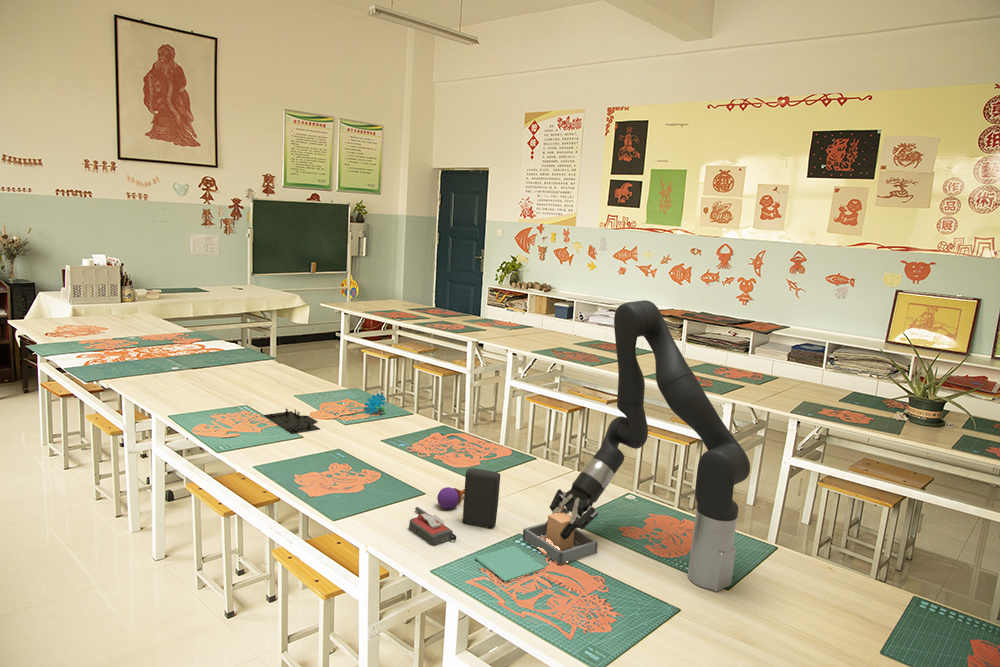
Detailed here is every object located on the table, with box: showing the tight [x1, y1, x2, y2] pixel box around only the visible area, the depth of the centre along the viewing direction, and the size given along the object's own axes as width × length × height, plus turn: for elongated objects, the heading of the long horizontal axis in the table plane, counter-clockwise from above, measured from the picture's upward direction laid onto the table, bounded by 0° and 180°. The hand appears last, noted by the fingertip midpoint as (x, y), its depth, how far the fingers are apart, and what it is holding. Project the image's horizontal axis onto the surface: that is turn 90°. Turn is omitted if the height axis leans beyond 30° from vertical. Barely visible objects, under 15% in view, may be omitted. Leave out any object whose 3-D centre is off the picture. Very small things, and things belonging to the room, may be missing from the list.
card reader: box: [462, 467, 501, 529], centre depth 174 cm, size 9×4×15 cm, turn 77°
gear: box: [363, 392, 387, 415], centre depth 267 cm, size 11×6×10 cm
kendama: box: [436, 486, 465, 510], centre depth 189 cm, size 6×6×20 cm
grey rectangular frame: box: [522, 522, 599, 566], centre depth 166 cm, size 15×13×3 cm
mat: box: [474, 545, 546, 583], centre depth 155 cm, size 12×12×1 cm
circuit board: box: [263, 408, 321, 435], centre depth 247 cm, size 25×14×3 cm, turn 42°
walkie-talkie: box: [408, 506, 457, 547], centre depth 169 cm, size 9×4×20 cm
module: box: [545, 511, 576, 551], centre depth 165 cm, size 5×5×8 cm
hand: (555, 532), depth 164 cm, fingers closed on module, 5 cm apart
